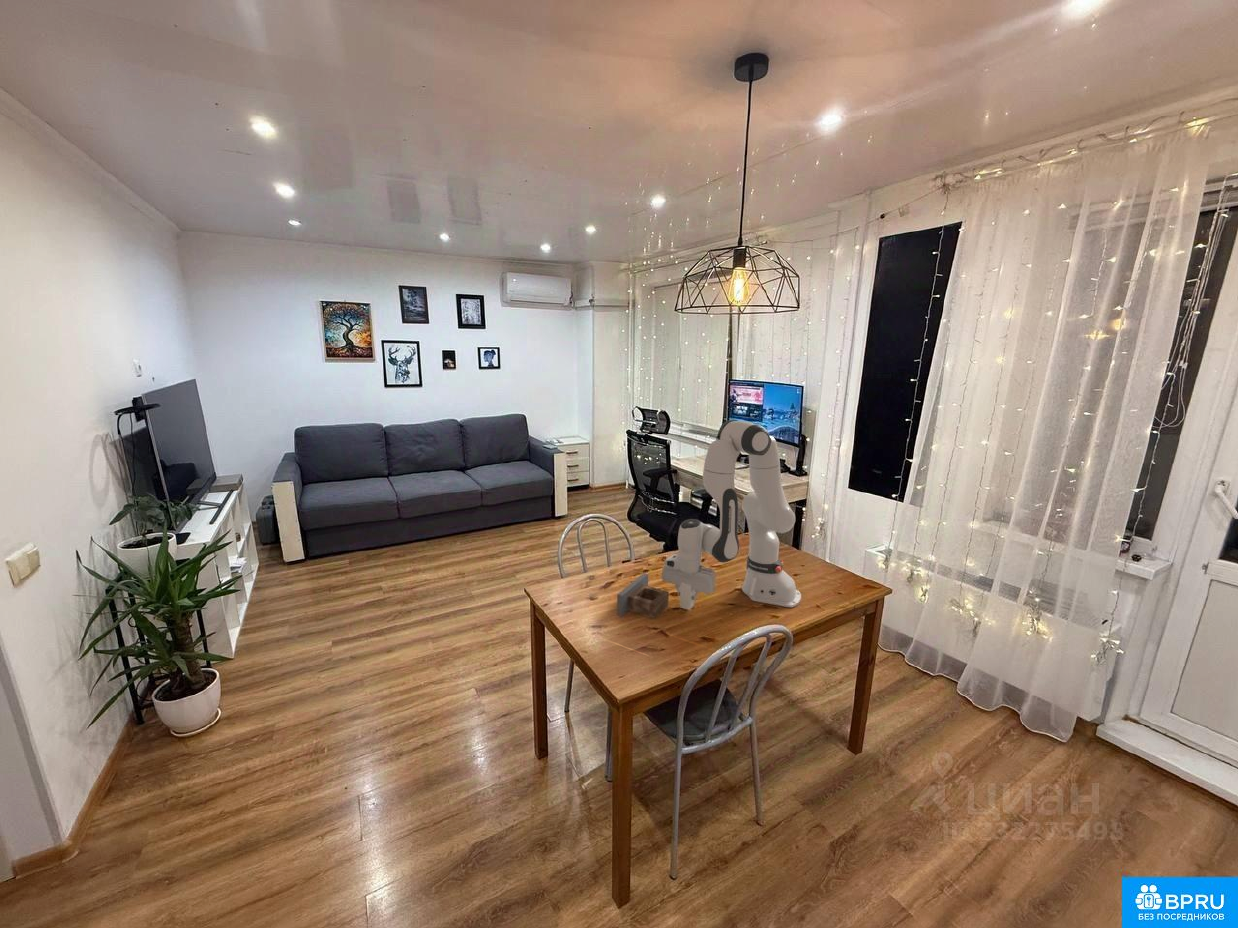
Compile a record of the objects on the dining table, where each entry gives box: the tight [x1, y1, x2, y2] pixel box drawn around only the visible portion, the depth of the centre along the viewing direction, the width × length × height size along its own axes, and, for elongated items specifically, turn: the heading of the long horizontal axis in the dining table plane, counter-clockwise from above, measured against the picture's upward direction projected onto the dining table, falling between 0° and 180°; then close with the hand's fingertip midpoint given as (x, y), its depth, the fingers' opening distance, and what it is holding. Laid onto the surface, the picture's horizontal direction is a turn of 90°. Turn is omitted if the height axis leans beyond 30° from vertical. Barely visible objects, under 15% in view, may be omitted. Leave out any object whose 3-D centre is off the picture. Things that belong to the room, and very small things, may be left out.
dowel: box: [679, 583, 695, 611], centre depth 184 cm, size 4×4×10 cm
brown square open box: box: [627, 585, 670, 620], centre depth 182 cm, size 11×11×6 cm
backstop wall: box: [616, 572, 649, 617], centre depth 185 cm, size 2×20×8 cm, turn 149°
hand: (687, 597), depth 184 cm, fingers closed on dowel, 4 cm apart
